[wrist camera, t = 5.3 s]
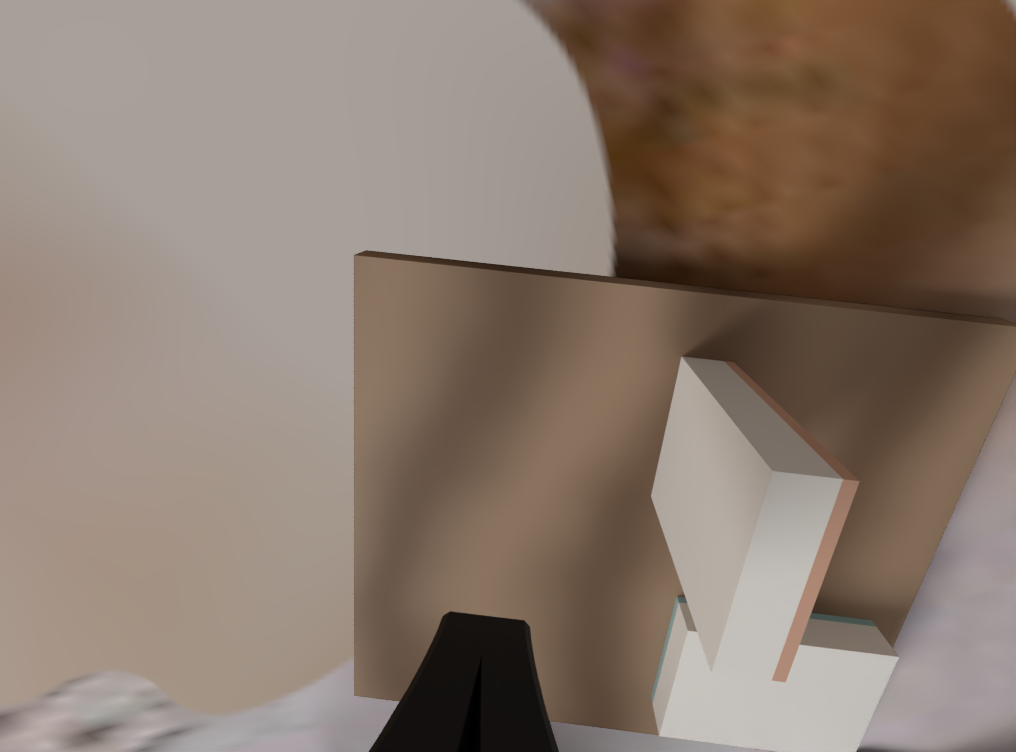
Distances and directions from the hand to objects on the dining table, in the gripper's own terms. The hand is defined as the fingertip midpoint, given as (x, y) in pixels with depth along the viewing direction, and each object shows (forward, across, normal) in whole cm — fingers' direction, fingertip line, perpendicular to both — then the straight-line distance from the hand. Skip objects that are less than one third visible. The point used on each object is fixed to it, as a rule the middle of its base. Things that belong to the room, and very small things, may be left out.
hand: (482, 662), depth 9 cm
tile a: (+8, -7, +9) cm, 14 cm away
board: (+10, -5, +4) cm, 12 cm away
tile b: (+9, -6, 0) cm, 11 cm away
